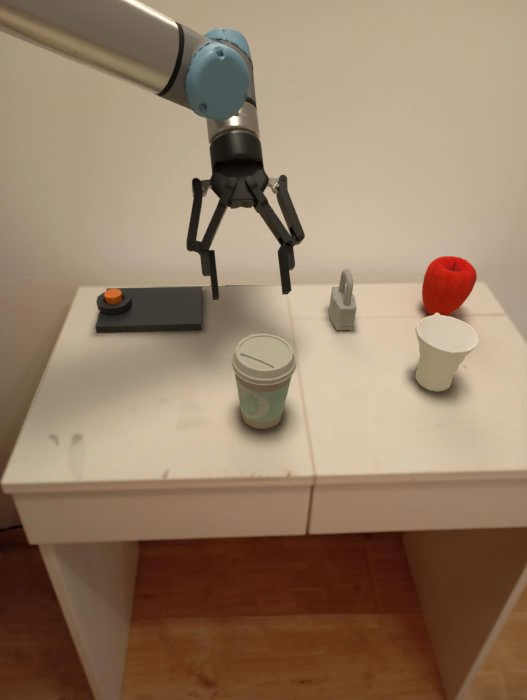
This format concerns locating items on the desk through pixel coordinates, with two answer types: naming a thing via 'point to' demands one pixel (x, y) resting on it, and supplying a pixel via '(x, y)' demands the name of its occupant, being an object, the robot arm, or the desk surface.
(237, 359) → the coffee cup
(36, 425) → the desk surface
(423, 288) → the apple
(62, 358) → the desk surface
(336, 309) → the padlock
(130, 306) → the scale
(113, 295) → the button
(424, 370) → the cup
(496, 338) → the desk surface
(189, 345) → the desk surface
